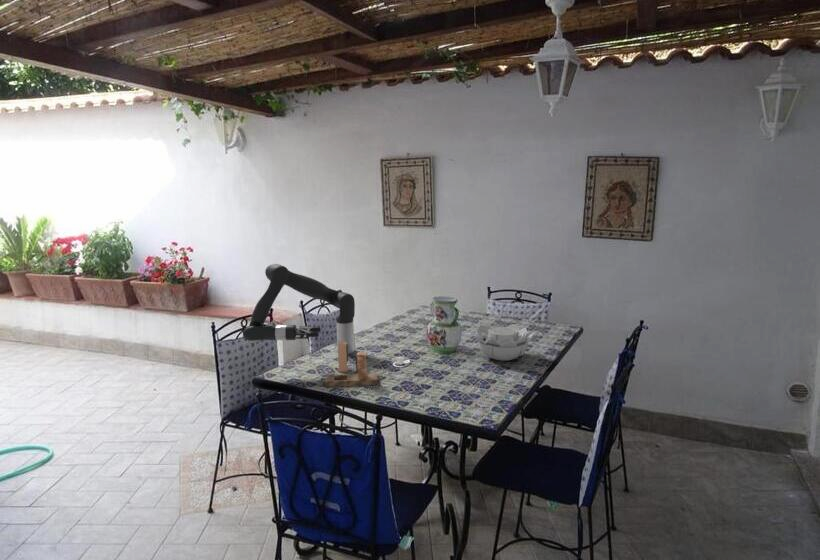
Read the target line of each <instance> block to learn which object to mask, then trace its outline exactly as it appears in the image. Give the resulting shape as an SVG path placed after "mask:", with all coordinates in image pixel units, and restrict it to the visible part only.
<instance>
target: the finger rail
mask: <svg viewBox="0 0 820 560" xmlns="http://www.w3.org/2000/svg"><path fill="white" fill-rule="evenodd" d="M355 366H356V367H355V370H356V371H355V372H356V373H355V374H354V373H353V374H330V375H329V374H328V375H327V374H326V377H325V380H324V387H325V388H329V387H332V388H333V387H354V386H377V385H378V379H379V378H378V373H368V372H367V371H368V370H367V369H368V368H367V351H361V352H357V351H356V354H355Z"/></svg>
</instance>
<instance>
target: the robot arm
mask: <svg viewBox="0 0 820 560" xmlns="http://www.w3.org/2000/svg"><path fill="white" fill-rule="evenodd" d="M264 273H265V276H266V279H268V280H269V281H270V282H269V284H268V288H267V289H266V291H265V292H264V294H263V295H262V296H261V297H260V298H259V300H258V301H257V303H256V305H255V307H254V309H253V311H252V314H251V316H250V322H249V325H248V326H246V327H245V328H244V329H243V331H242V337H243V339H245V340H246V341H248V342H251V341H253V342H255V341H296V340H297V339H301V340H304V339H305V340H306V339H310V338H317V337H318V338H319V336H320V335H319V333H320V332H321V327H319V326H317V327H316V326H315V327H313V326H312V325H302V326H299V327H298V328H297V325H296V324H279V325H265V326H264V324H265V322H266V321H267V318H268V315H269V313H270V311H271V309H272V307H273V305H274V302H275V301H276V299H277V297H278V295H279V293H280V292H281V291H282V289H283V288H284V286H286V287H289V288H291V289H292V290H295V291H296V292H298V293H300V294H302V295H305V296H306V297H310V298H312V299H315V300H320V301H323V302H325V303H328V304H331V305H332V306H334V307H335V308H337V309H339V315H337V316H336V318H335V319H336V340H337V341H336V342H337V343H336V344H337V346H336V347H337V348H338V342H347V344H348V355H351V354H354V352H355V351H356V336H355V331H354V330H355V327H354V326H355V325H354V317H355V312H356V310H355V308H356V307H355V306H356V305H355V298H354V296H353V295H352V294H351V293H347V292H344V291H339V290H335V289H333V288H329V287H328V286H327V285H326V284H324V283H322V282H321V281H319V280H316V279H314V278H312V277H309V276H306V275H302V274H300V273H299V274H298V273H295V272H292V271H290V270H289V269H288V268H287V267H286V266H284V265H282V264H279V263H273V264H269V265H268V266H267V267H266V269H265V271H264Z"/></svg>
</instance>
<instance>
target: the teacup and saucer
mask: <svg viewBox="0 0 820 560" xmlns="http://www.w3.org/2000/svg"><path fill="white" fill-rule="evenodd" d="M394 361H395V362H393V363H392V366H394V367H397V368H403V367H407V366H409V364H410V363H411V360H409V359H407V360H404V356H397V357H396V358H395V359H394ZM396 364H397V365H396Z"/></svg>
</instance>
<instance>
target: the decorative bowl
mask: <svg viewBox="0 0 820 560" xmlns="http://www.w3.org/2000/svg"><path fill="white" fill-rule="evenodd" d="M475 332H476V333H475V334H474V338H475V340H476V341H477V343H478V347H479V349H480V351H481V353H482V354H483V355H484V356H485V357H487V358H491V359H493V360H496V361H501V362H503V361H504V362H506V361H507V362H508V361H511V360H514V359H517V358H519V357H521V356H523V354H524V353H525V352H526V350H527V348H528V345H529V344H528V343H530V342H531V341H532V340H533V338H534V336H535V332H532V333H531V334H529V335H528V331H527V327H523V328H521V329H520V328H519V325H517V324H516V323H512V324H510V325H508V326H505V327H504V326H503V325H501V324H499V323H495V324H494V325H493V326H492V327H491V326H485V324H484V325H483V324H479V326H478V329H477V328H476V330H475Z"/></svg>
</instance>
